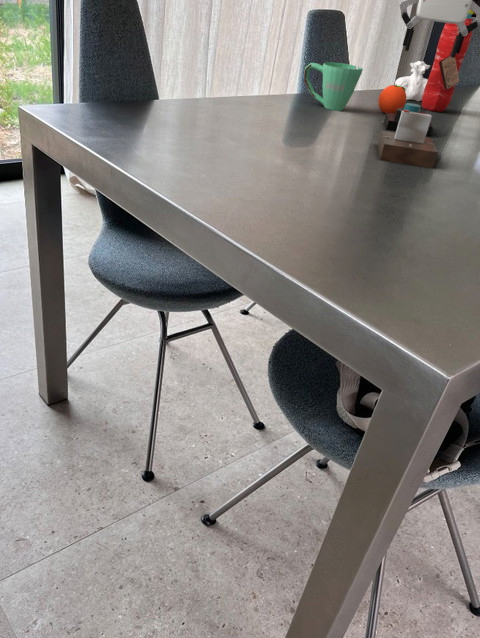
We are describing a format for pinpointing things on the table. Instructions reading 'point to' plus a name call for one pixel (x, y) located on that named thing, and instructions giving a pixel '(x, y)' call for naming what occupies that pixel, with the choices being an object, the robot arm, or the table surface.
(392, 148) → the block
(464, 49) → the red bag
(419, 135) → the silver flat panel
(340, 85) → the mug
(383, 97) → the clementine
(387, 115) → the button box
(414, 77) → the bust
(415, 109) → the button
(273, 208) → the table surface
